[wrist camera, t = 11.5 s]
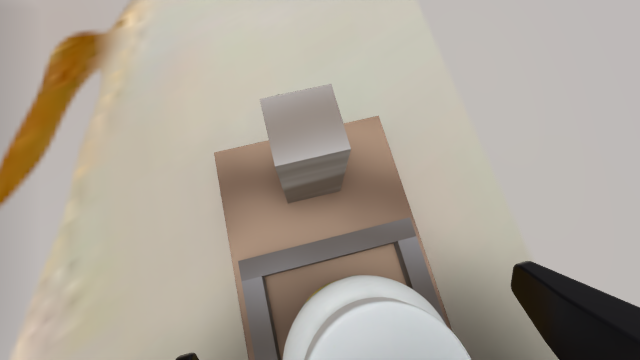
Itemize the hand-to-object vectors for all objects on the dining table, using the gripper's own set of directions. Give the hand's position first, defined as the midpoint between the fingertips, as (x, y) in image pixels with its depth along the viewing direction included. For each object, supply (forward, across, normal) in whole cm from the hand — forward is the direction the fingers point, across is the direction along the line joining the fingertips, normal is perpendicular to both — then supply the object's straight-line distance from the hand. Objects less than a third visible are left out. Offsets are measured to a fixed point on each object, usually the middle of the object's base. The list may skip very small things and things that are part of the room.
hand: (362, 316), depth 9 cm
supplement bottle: (+5, 0, +7) cm, 8 cm away
